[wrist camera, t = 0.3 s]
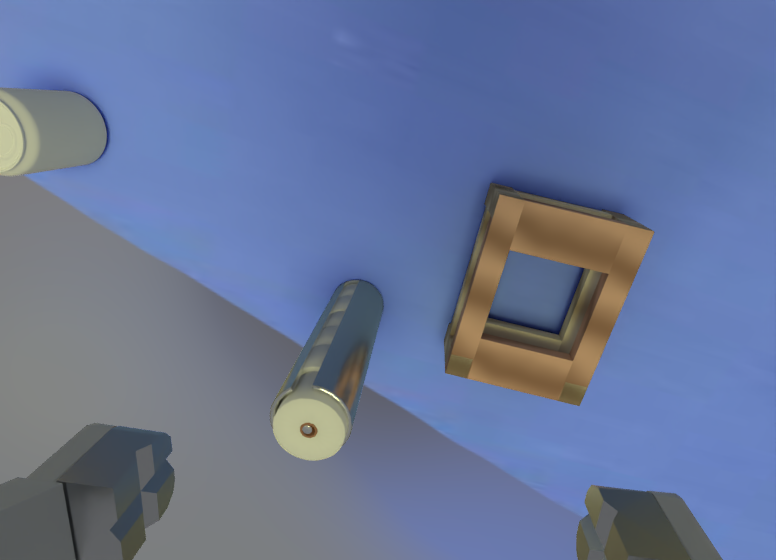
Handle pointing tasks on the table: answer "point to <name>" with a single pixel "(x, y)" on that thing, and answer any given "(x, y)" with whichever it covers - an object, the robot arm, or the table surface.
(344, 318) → the silver metal cylinder
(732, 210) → the table surface
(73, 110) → the beverage can
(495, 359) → the frame
